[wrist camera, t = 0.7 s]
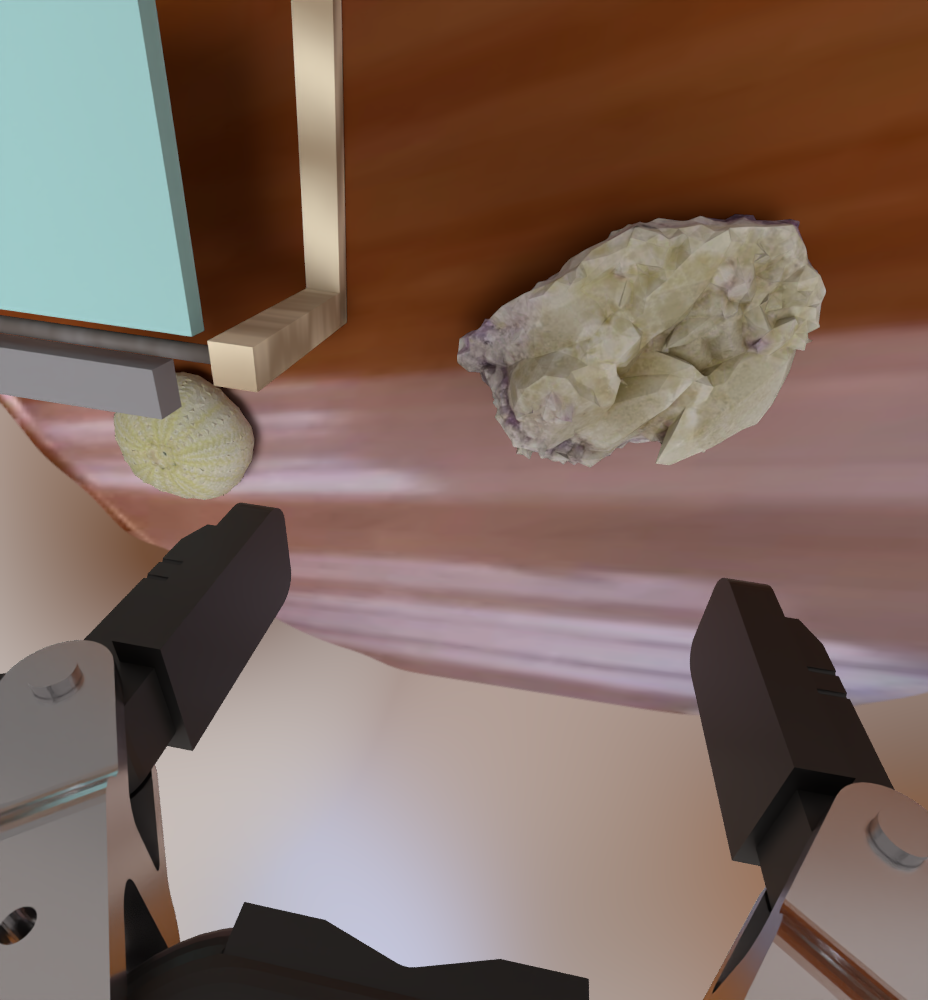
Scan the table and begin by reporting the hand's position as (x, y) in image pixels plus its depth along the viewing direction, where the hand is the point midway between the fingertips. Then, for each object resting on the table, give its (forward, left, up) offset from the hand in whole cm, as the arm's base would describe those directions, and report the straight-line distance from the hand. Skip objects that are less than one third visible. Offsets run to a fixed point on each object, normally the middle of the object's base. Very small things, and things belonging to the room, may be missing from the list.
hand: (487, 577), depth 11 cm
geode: (+2, +5, -26) cm, 27 cm away
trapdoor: (-3, -22, -16) cm, 27 cm away
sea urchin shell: (+12, -23, -26) cm, 37 cm away
